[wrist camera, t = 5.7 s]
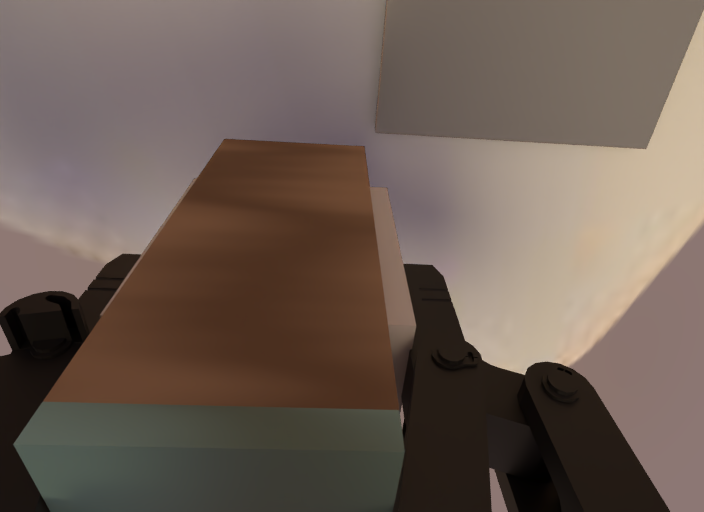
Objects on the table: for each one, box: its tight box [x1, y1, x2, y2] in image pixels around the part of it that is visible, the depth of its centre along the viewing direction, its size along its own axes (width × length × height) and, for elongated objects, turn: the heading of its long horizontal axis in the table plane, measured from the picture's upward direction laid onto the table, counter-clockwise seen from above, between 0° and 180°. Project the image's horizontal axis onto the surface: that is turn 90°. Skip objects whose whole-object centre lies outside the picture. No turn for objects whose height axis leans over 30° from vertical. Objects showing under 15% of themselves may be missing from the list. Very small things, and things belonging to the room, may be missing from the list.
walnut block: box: [13, 139, 405, 512], centre depth 11 cm, size 4×4×11 cm
